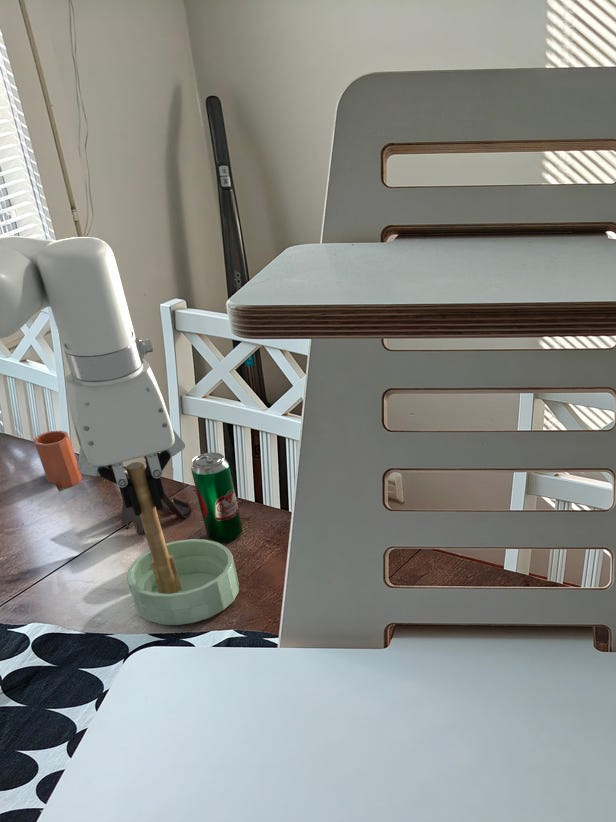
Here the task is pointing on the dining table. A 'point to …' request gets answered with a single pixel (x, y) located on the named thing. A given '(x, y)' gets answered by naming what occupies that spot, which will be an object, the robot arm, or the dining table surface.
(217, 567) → the bowl
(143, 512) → the wooden dowel rod
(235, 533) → the soda can
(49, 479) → the crock
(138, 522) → the tablet stand
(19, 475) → the dining table surface
